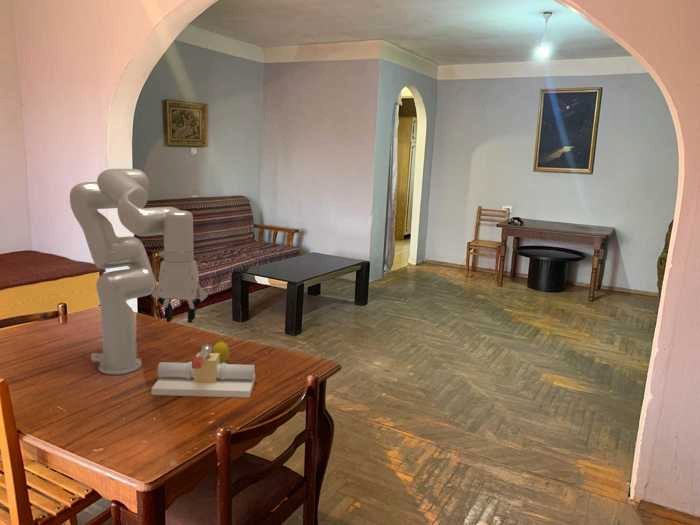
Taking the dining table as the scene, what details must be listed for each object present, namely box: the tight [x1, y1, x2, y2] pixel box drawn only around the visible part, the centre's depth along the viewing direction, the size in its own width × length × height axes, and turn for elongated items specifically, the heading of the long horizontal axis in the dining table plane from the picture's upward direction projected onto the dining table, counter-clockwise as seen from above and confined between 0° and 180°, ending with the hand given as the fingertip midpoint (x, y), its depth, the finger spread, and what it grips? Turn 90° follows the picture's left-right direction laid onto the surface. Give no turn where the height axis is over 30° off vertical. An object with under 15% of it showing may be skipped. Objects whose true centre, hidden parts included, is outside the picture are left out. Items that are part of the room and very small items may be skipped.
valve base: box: [151, 352, 256, 399], centre depth 160 cm, size 28×12×10 cm, turn 92°
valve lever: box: [191, 344, 213, 369], centre depth 155 cm, size 14×3×2 cm, turn 2°
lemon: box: [211, 341, 230, 364], centre depth 178 cm, size 6×6×8 cm
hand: (180, 320), depth 148 cm, fingers open, 5 cm apart
